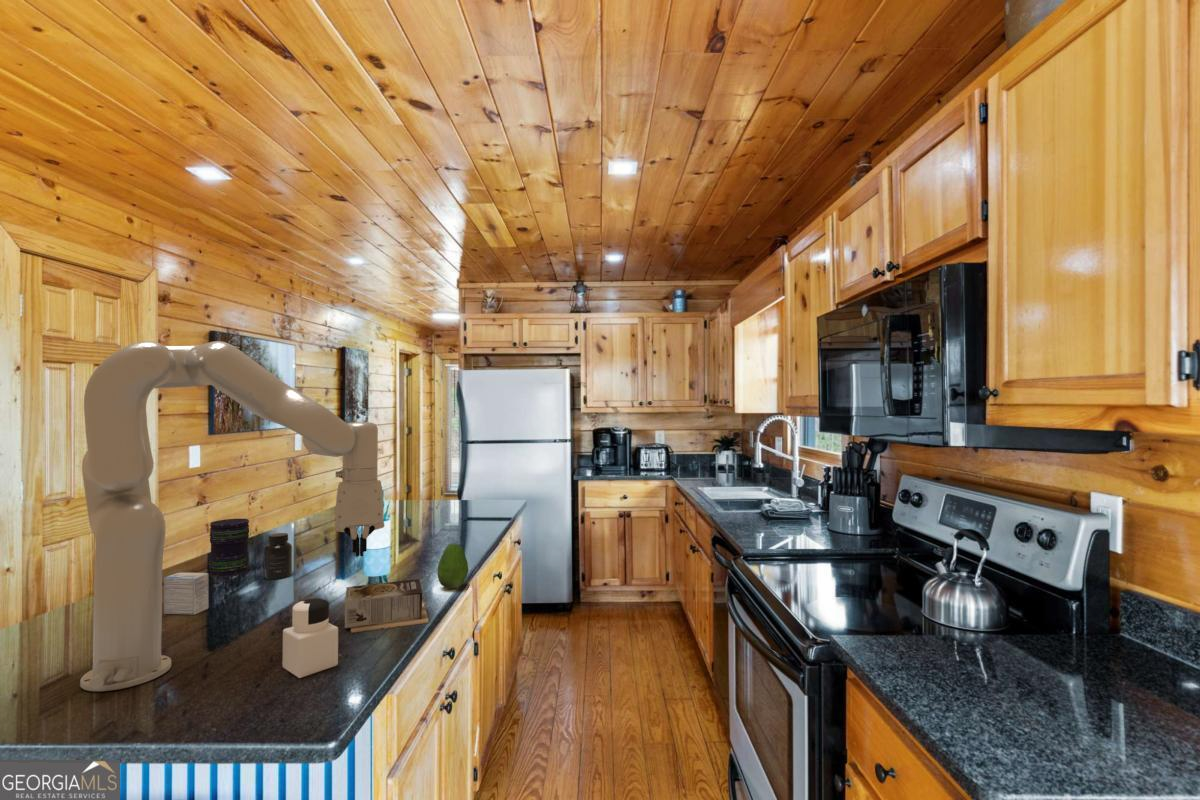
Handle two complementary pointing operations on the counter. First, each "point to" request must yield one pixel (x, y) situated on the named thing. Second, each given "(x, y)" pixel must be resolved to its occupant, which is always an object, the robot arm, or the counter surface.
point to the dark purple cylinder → (229, 547)
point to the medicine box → (186, 593)
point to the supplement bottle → (278, 557)
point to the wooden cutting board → (394, 623)
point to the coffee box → (383, 603)
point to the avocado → (452, 567)
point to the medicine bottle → (310, 639)
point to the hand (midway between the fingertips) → (359, 555)
